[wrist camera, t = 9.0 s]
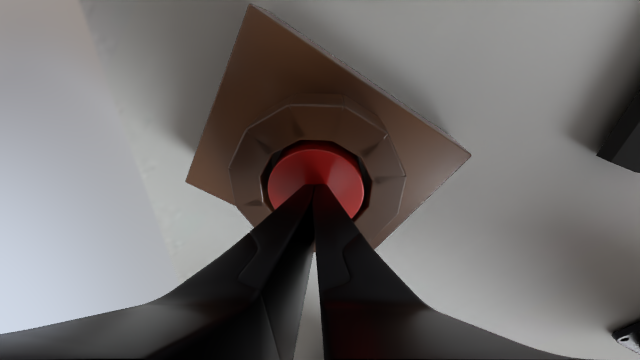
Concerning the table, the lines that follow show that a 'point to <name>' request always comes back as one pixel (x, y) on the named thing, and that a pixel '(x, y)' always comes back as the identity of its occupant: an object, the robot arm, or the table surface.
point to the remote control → (625, 139)
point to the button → (317, 173)
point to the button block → (315, 128)
